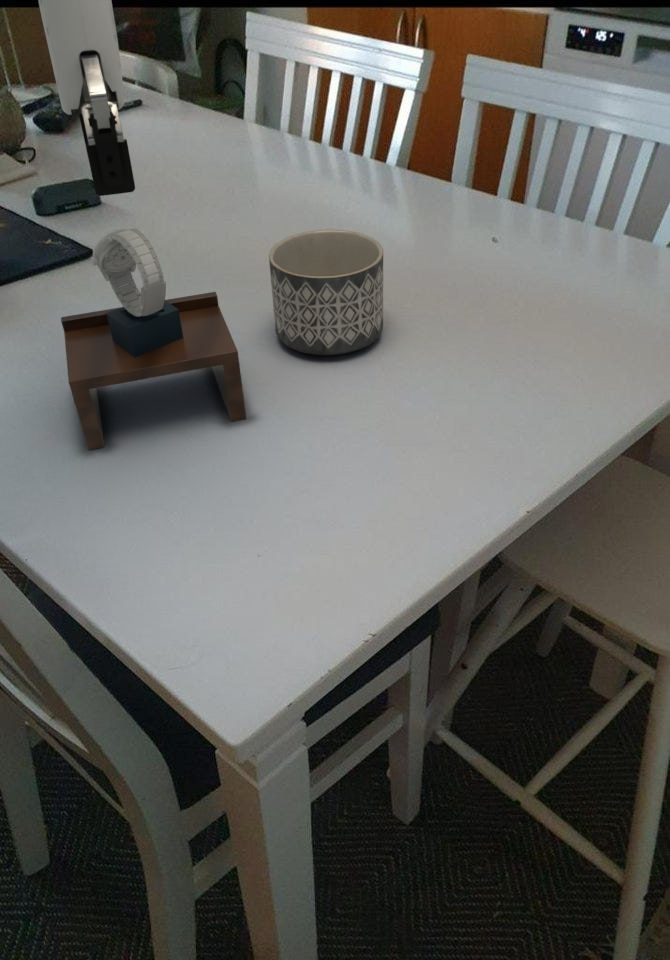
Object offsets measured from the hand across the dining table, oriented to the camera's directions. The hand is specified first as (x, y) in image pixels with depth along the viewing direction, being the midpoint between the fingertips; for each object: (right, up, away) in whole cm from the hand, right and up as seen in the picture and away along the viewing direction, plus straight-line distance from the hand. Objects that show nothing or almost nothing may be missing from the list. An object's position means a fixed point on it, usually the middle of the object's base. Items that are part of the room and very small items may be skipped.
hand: (111, 174), depth 70 cm
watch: (+1, -13, +11) cm, 17 cm away
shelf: (+1, -19, +16) cm, 24 cm away
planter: (+19, -9, +26) cm, 33 cm away
